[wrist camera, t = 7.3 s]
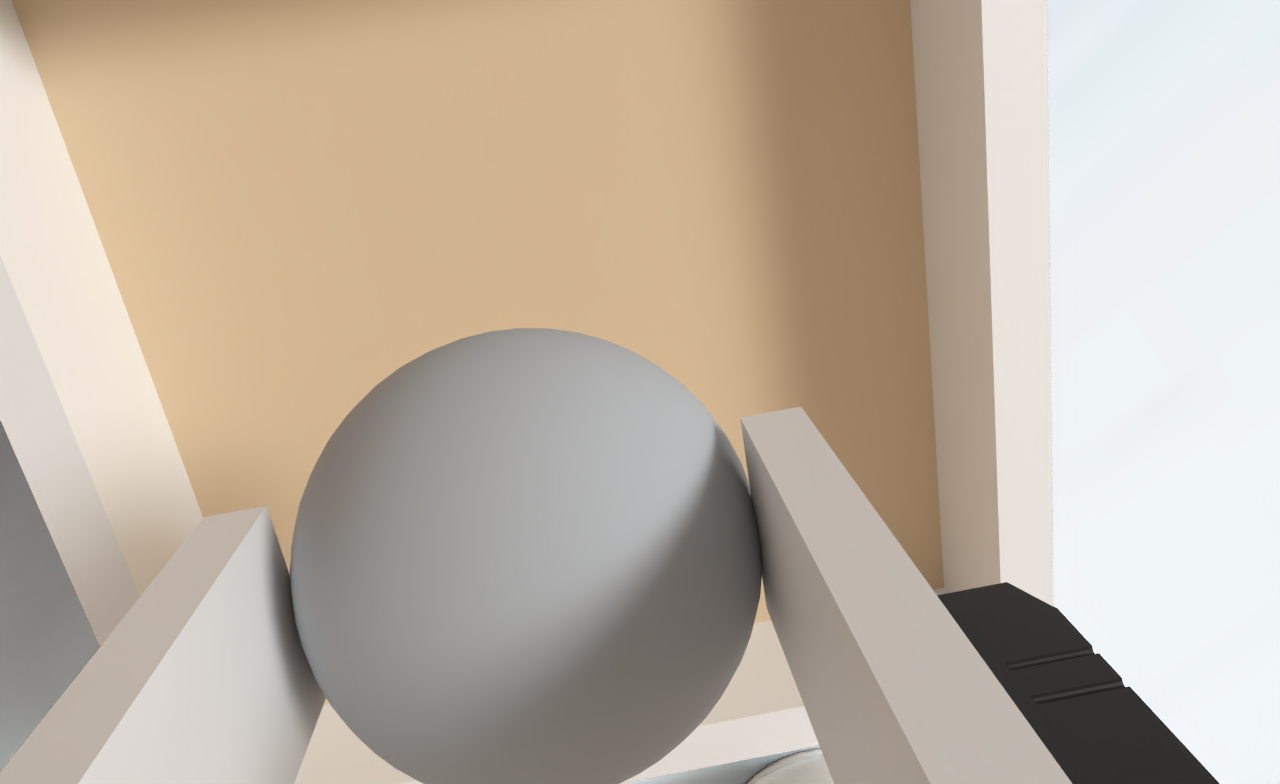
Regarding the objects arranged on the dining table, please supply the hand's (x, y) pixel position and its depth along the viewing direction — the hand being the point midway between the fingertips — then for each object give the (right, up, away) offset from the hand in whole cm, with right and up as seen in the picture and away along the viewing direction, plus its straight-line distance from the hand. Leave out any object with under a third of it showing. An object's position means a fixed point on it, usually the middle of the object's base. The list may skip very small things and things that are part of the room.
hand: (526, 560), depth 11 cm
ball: (0, +1, +3) cm, 4 cm away
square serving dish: (-1, +4, +10) cm, 11 cm away
